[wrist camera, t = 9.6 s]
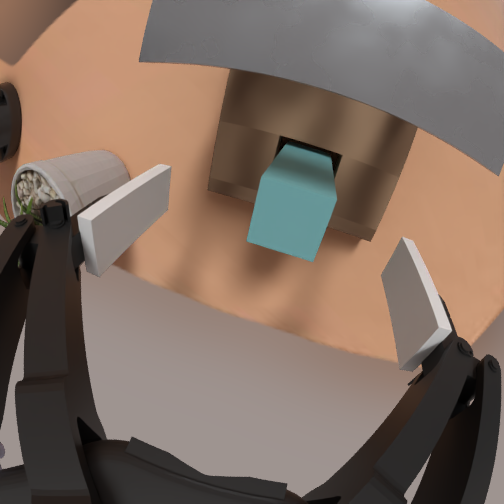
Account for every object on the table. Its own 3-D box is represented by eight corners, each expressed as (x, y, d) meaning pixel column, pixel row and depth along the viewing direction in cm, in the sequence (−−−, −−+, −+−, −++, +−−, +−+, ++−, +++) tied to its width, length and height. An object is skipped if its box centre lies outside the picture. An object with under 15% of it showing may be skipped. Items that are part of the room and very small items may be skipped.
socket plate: (216, 181, 27) (207, 190, 25) (249, 28, 18) (241, 22, 16) (367, 229, 26) (370, 241, 24) (421, 81, 17) (431, 80, 15)
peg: (278, 180, 26) (246, 241, 16) (288, 140, 23) (261, 176, 14) (318, 192, 25) (312, 261, 16) (330, 153, 23) (336, 199, 13)
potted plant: (66, 194, 33) (-36, 269, 17) (93, 115, 26) (-53, 175, 9) (122, 248, 36) (27, 349, 19) (163, 174, 28) (15, 284, 12)
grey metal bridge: (237, 76, 21) (138, 62, 9) (250, 24, 18) (166, -41, 6) (407, 128, 20) (498, 176, 7) (422, 77, 17) (525, 72, 4)
